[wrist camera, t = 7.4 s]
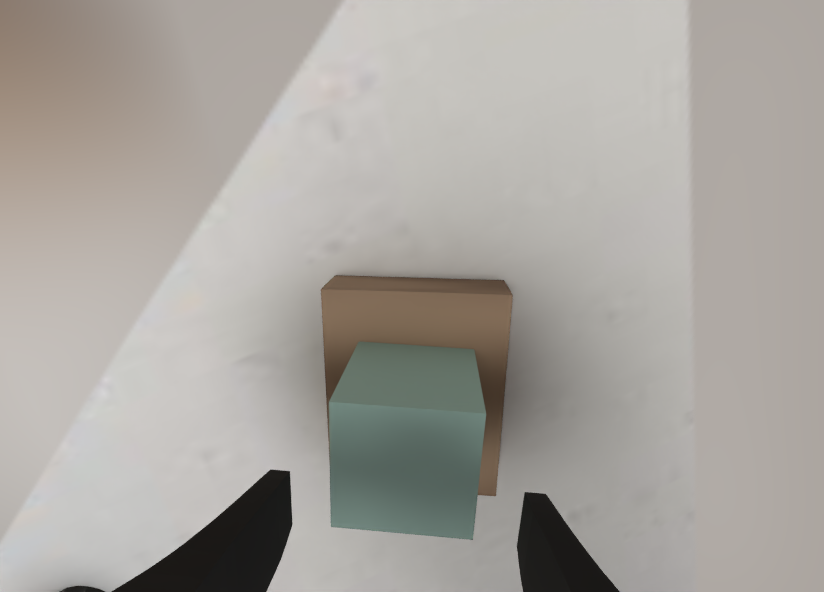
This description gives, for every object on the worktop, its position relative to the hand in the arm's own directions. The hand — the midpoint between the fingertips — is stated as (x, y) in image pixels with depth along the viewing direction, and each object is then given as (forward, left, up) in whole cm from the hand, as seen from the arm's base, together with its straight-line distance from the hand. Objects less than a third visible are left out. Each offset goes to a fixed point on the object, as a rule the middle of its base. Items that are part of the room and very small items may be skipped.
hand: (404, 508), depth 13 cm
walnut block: (0, 0, -9) cm, 9 cm away
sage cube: (0, 0, -6) cm, 6 cm away
